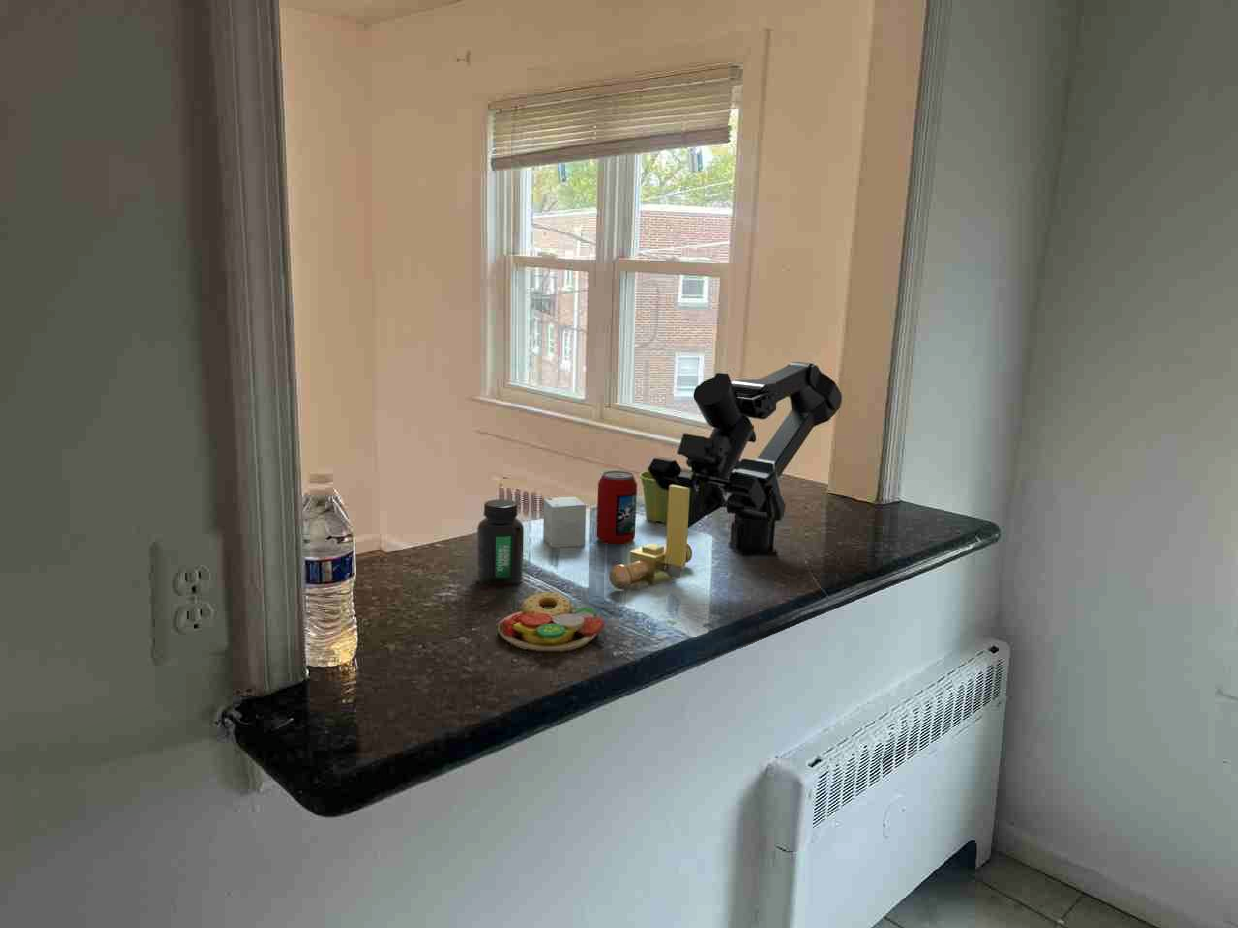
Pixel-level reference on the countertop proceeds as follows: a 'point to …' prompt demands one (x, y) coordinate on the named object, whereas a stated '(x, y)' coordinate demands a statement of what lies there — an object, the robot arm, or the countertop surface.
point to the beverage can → (616, 507)
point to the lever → (677, 529)
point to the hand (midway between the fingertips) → (681, 527)
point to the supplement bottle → (500, 545)
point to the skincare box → (564, 522)
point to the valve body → (644, 568)
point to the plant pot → (654, 499)
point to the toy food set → (550, 624)
